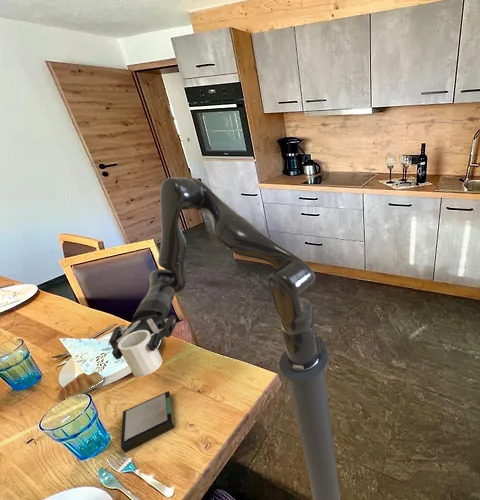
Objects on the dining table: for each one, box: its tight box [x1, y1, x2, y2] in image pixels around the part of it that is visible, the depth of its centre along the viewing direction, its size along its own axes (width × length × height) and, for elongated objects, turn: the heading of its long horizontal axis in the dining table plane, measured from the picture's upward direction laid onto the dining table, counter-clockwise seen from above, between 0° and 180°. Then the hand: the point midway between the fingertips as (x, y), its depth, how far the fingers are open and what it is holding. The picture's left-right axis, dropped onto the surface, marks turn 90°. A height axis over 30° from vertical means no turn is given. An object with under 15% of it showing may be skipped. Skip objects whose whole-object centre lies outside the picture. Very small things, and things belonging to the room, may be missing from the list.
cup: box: [118, 330, 163, 378], centre depth 70 cm, size 6×6×9 cm
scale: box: [120, 390, 176, 454], centre depth 70 cm, size 10×10×3 cm
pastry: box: [58, 372, 105, 400], centre depth 80 cm, size 9×7×4 cm
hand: (134, 352), depth 67 cm, fingers closed on cup, 6 cm apart
